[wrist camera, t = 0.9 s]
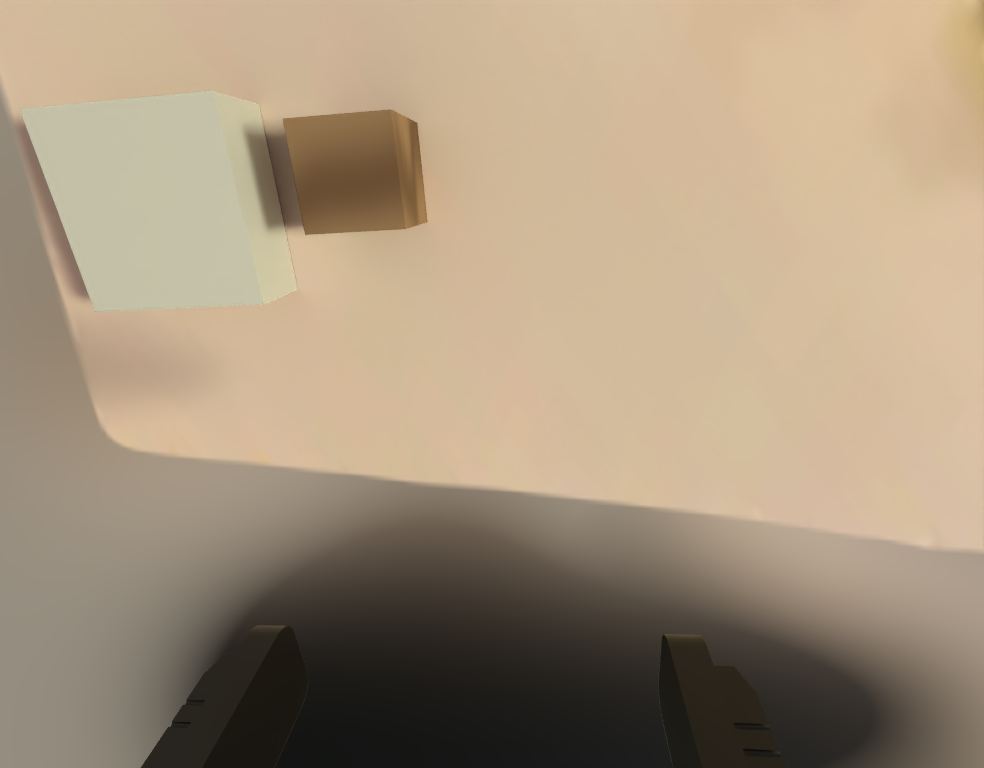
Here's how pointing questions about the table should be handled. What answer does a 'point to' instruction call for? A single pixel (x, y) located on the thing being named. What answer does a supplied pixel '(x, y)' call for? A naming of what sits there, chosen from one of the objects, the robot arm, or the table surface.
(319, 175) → the walnut cube
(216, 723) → the robot arm
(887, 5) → the table surface
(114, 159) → the base slab
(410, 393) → the table surface
